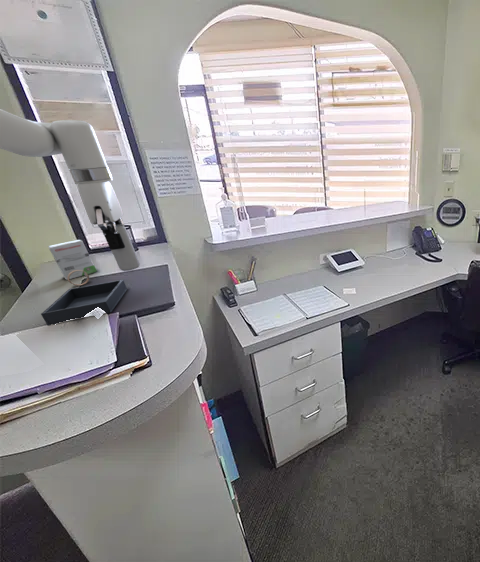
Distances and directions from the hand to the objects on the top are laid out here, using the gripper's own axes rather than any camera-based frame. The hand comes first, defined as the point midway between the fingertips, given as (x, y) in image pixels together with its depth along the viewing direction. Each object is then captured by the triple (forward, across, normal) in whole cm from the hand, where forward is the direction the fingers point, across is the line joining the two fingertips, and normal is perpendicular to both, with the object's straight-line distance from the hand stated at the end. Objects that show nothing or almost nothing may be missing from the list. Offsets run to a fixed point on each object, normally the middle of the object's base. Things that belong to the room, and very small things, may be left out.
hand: (120, 245), depth 84 cm
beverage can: (+7, 0, 0) cm, 7 cm away
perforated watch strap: (+16, -21, -21) cm, 34 cm away
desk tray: (+16, 0, -12) cm, 20 cm away
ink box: (+16, -33, -25) cm, 44 cm away
